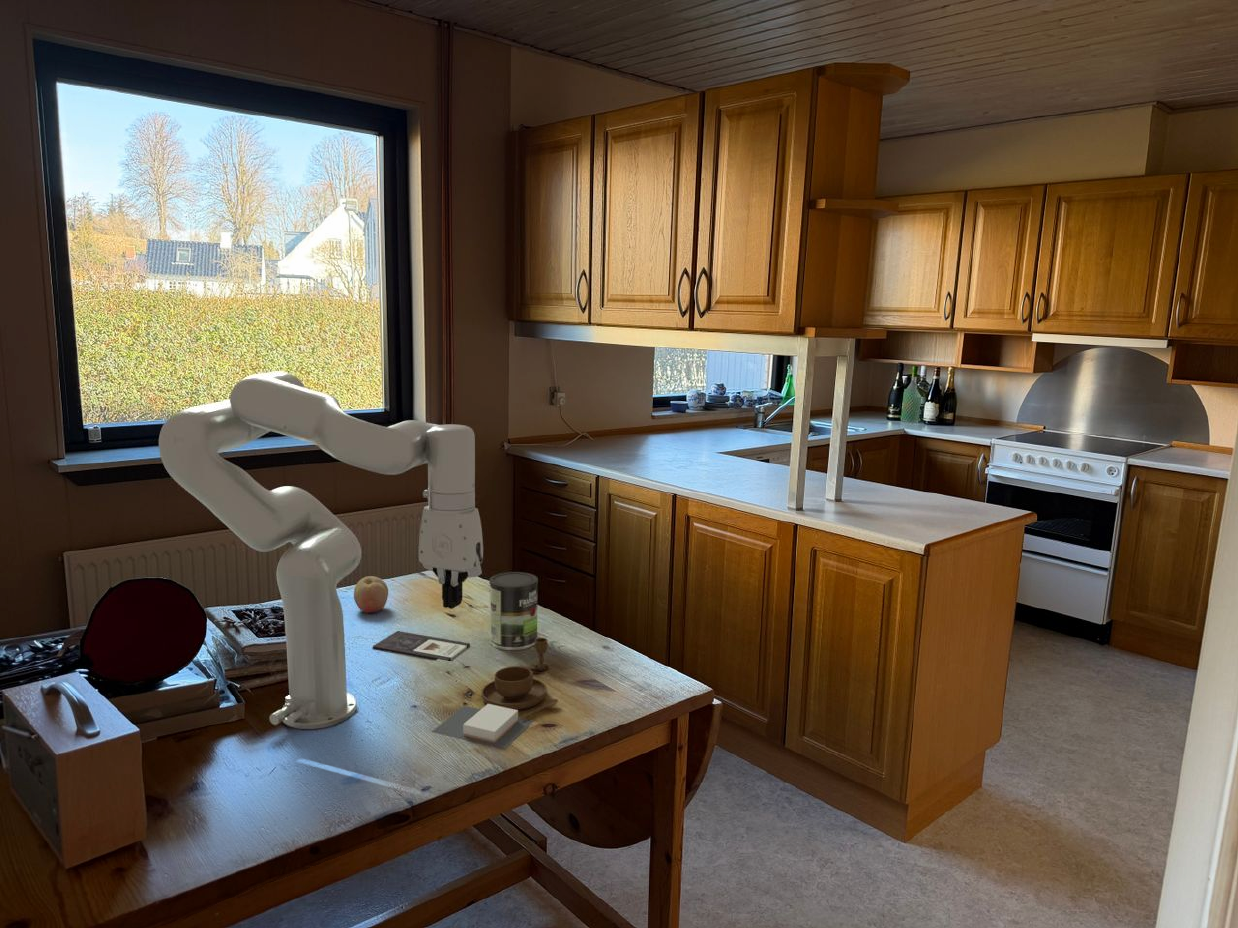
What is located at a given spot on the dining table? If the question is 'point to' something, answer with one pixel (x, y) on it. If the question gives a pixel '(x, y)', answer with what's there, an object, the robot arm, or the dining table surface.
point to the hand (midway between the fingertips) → (452, 605)
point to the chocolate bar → (421, 646)
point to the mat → (455, 729)
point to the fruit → (371, 594)
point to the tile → (490, 723)
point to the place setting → (519, 686)
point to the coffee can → (513, 610)
